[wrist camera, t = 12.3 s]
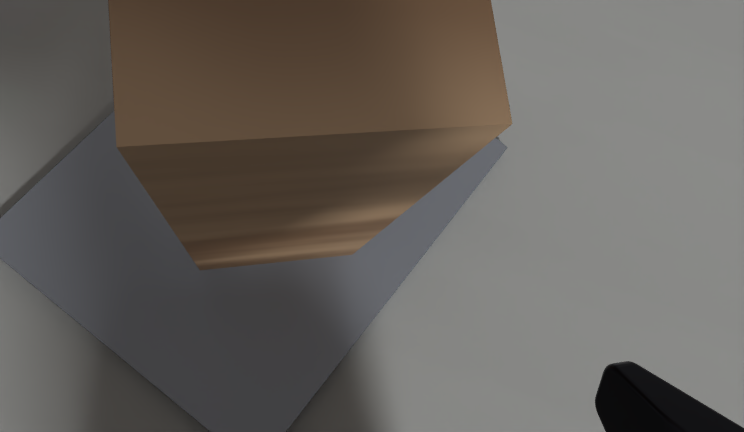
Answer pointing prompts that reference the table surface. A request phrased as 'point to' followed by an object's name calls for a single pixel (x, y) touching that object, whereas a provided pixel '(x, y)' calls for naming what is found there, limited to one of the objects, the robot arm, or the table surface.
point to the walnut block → (299, 115)
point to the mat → (210, 287)
